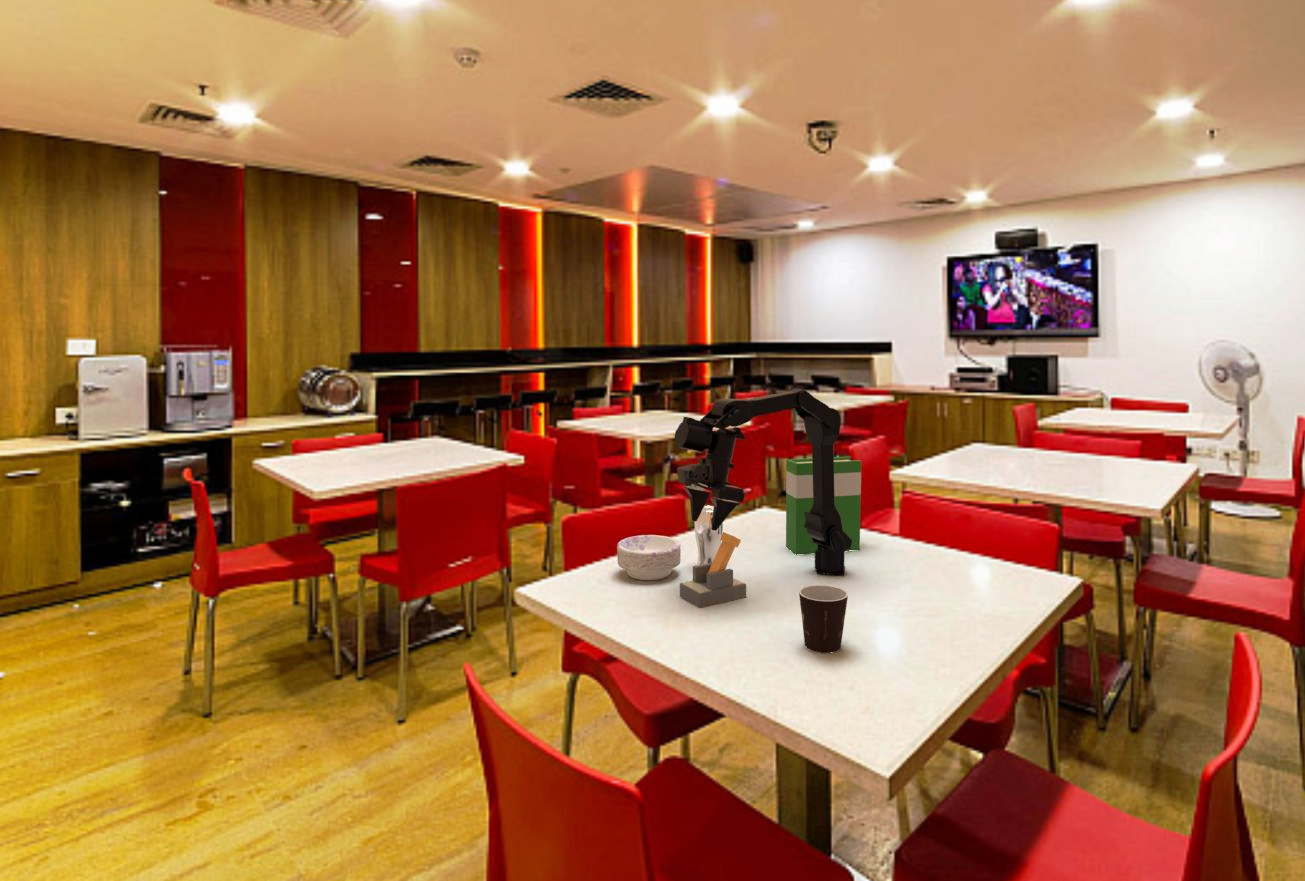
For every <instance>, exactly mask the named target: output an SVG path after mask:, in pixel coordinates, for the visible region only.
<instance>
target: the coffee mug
mask: <svg viewBox="0 0 1305 881" xmlns="http://www.w3.org/2000/svg"><path fill="white" fill-rule="evenodd" d="M798 594H799V596H798V597H799V603H800V604H799V606H800V614H801V624H802V632H803V640H804V646H806V647H807V648H806V647H805V648H806V649H807V650H809V649H810V650H809V651H811V650H812V651H811V652H813V653H814V652H815V653H819V652H820V654H832V653H831V652H833V653H836V652H838V651H840V650H841V647H842V640H843V634H844V633H843V632H844V626H845V619H846V612H847V604H848V596H849V593H848V592H847V591H846V589H843V588H841V587H837V586H833V585H827V584H814V585H813V584H812V585H807V586H803V587H801V588H800V589H799V590H798Z"/></svg>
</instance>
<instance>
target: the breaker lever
mask: <svg viewBox="0 0 1305 881" xmlns="http://www.w3.org/2000/svg"><path fill="white" fill-rule="evenodd" d="M720 540H722V541H721V545H720V547H719V549H718V551H717V554H716V556H715V558H714V560H713V563H712V565H711V567H710V569H709V572H708V573H710V572H715V571H720V570H725V569H726V568H727V566H728V564H729V561H730V560H731V558H732V554H733V552H734V551H735V548H739V546H740V543H741V542H742V541H741V540H742V539H740V538H738V537H736V536H734V535H732V534H730V533H727V532H724V531H723V534H722V536H721V538H720Z"/></svg>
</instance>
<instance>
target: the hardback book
mask: <svg viewBox="0 0 1305 881" xmlns="http://www.w3.org/2000/svg"><path fill="white" fill-rule="evenodd" d="M851 458H852V457H851V456H836V457H835V456H834V496H835V507H836V509H837V511H838V513H839V515H840V517H841V521H842V527H843V531H844V532H845V533H846V534H847V536H848V537H849V538H850V539H851V540H852V544H851V548H850V549H848V550H845V551H848V552H850V551H849V550H860V547H861V545H860V544H861V542H860V541H861V500H862V499H861V498H862V496H861V494H862V489H861V488H862V460H860V459H859V460H851ZM785 463H786V464H785V465H786V473H785V474H786V475H785V476H786V477H785V478H786V480H785V482H786V483H785V485H786V488H785V494H786V496H785V499H786V500H785V503H786V504H785V506H786V507H785V512H786V513H785V548H786V547H787V548H788V549H787V548H786V549H787V550H789V551H790V550H791V551H792V552H791V551H790V552H791V553H792V554H794V555H795V554H796V555H795V556H798V555H797V554H804V555H810V554H809V553H815V550H817V547H818V544H815V543H813V542H812V539H811V536H810V535H809V534H808V533H807V529H806V528H804V526H805V515H804V514H805V512H810V510H811V508H812V506H813V463H812V458H811V457H810V458H796V459H795V458H791V459H790V458H789V459H788V458H787V459H786V462H785Z"/></svg>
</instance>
